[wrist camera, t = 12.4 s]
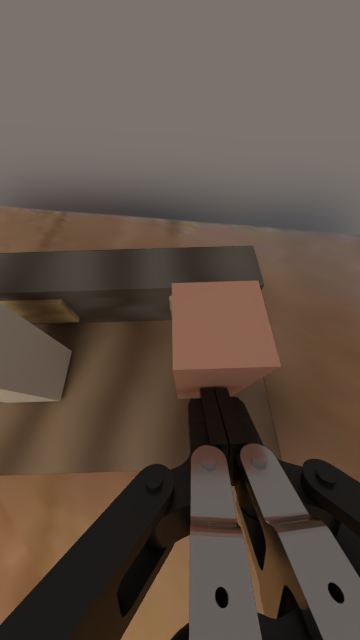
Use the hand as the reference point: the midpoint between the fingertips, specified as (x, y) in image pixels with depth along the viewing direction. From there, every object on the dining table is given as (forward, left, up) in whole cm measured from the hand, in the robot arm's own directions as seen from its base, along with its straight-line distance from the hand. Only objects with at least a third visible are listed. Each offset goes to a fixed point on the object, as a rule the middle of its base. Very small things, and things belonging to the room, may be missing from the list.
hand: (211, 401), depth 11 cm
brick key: (+1, +3, -4) cm, 5 cm away
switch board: (-4, +7, -6) cm, 10 cm away
